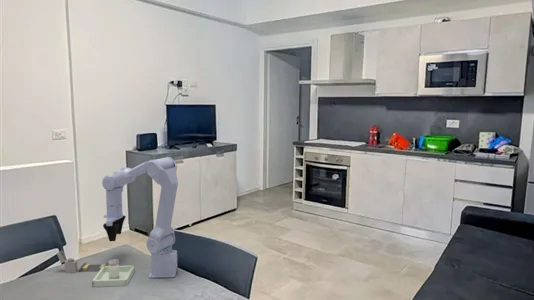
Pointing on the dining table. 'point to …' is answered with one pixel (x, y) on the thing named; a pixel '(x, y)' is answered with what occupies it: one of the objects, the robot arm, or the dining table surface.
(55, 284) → the dining table surface
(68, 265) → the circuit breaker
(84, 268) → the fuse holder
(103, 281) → the tray
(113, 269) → the fuse
